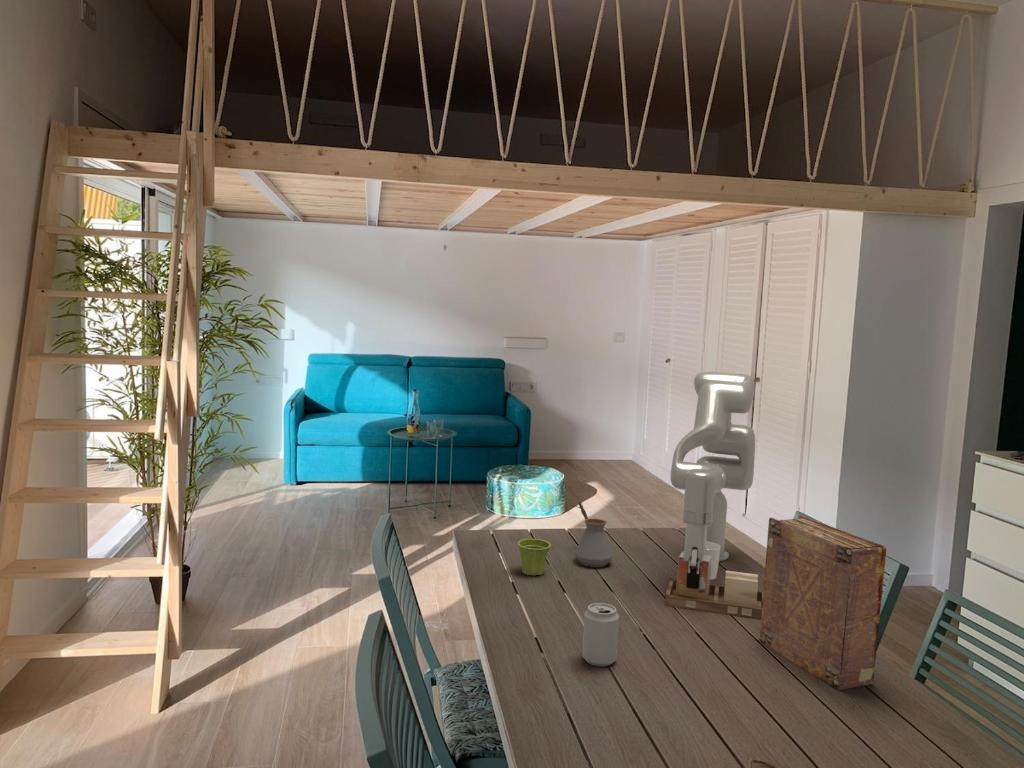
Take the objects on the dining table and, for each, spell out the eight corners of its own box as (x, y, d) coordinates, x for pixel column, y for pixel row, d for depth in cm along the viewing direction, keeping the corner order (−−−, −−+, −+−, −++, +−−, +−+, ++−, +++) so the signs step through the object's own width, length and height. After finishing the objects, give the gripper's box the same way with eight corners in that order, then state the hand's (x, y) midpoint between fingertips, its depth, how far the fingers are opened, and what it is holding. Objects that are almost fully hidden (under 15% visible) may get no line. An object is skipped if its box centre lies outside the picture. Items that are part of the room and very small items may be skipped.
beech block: (723, 599, 212) (726, 570, 211) (755, 604, 209) (757, 574, 209) (723, 607, 206) (725, 577, 205) (755, 612, 204) (758, 582, 203)
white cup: (715, 575, 234) (718, 542, 233) (720, 584, 226) (722, 550, 225) (688, 573, 235) (690, 540, 234) (691, 582, 227) (694, 548, 226)
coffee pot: (618, 568, 236) (621, 519, 235) (581, 570, 233) (583, 520, 232) (593, 546, 257) (595, 500, 255) (559, 548, 254) (561, 501, 252)
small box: (675, 595, 210) (677, 556, 209) (679, 588, 215) (681, 550, 214) (706, 600, 207) (709, 561, 206) (709, 593, 212) (712, 555, 211)
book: (758, 641, 188) (768, 516, 185) (790, 636, 192) (799, 514, 189) (839, 691, 165) (852, 549, 162) (873, 685, 168) (886, 546, 165)
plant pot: (555, 572, 231) (556, 543, 230) (538, 581, 223) (540, 550, 222) (527, 565, 236) (528, 536, 235) (510, 573, 228) (511, 544, 227)
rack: (669, 590, 219) (670, 578, 219) (764, 604, 213) (765, 591, 212) (664, 609, 206) (665, 596, 206) (766, 623, 199) (767, 610, 199)
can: (594, 670, 170) (597, 616, 168) (575, 656, 176) (578, 603, 175) (623, 664, 173) (626, 611, 172) (603, 650, 180) (606, 599, 178)
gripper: (685, 507, 218) (681, 571, 220) (680, 523, 202) (676, 593, 203) (714, 510, 216) (709, 575, 218) (711, 527, 199) (706, 597, 201)
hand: (693, 583), depth 211 cm, fingers closed on small box, 5 cm apart
